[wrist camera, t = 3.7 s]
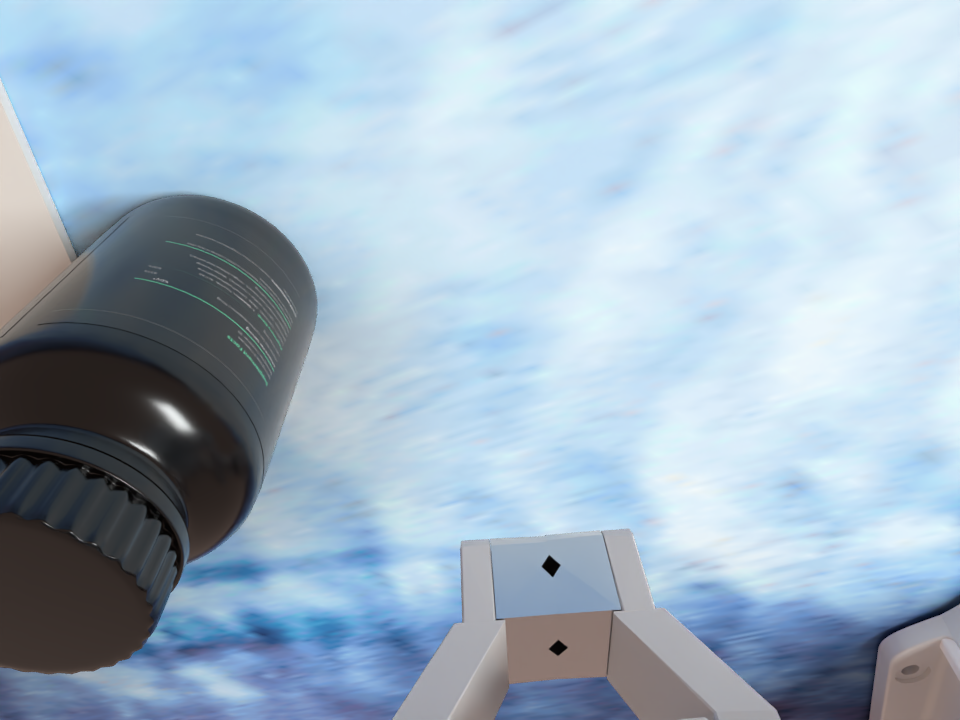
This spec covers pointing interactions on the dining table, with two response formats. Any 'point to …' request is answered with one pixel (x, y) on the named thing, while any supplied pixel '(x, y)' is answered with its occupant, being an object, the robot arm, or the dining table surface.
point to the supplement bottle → (140, 422)
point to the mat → (25, 221)
